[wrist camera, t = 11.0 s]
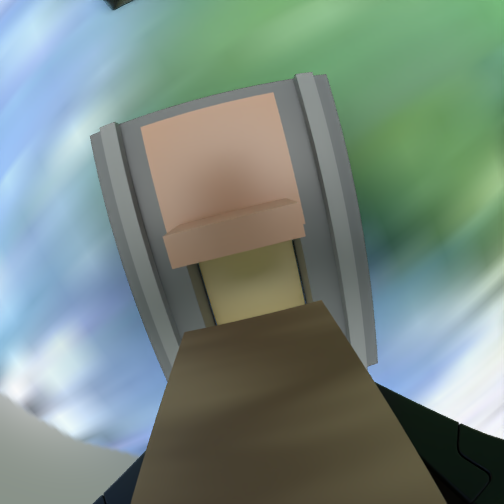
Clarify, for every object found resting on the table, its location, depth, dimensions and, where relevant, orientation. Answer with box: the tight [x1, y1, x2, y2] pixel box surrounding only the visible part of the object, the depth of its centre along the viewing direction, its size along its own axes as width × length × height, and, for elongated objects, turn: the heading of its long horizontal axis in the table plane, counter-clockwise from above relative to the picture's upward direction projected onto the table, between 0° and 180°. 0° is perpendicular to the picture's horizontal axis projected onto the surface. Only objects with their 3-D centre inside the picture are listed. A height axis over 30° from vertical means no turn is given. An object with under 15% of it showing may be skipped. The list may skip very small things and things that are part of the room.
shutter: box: [140, 92, 306, 269], centre depth 12 cm, size 6×6×4 cm
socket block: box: [90, 72, 378, 382], centre depth 17 cm, size 12×16×4 cm
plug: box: [131, 300, 447, 504], centre depth 6 cm, size 4×4×7 cm
